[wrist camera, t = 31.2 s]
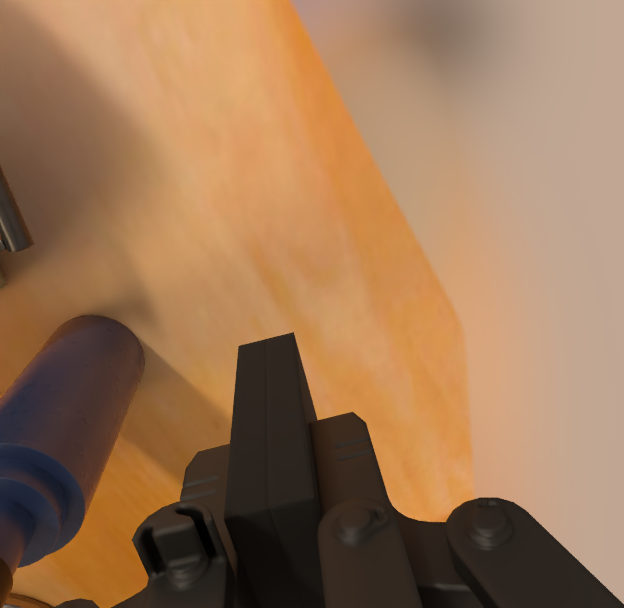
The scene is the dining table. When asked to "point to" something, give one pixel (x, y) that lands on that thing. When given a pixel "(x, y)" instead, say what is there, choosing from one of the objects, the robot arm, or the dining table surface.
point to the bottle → (61, 436)
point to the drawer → (11, 224)
